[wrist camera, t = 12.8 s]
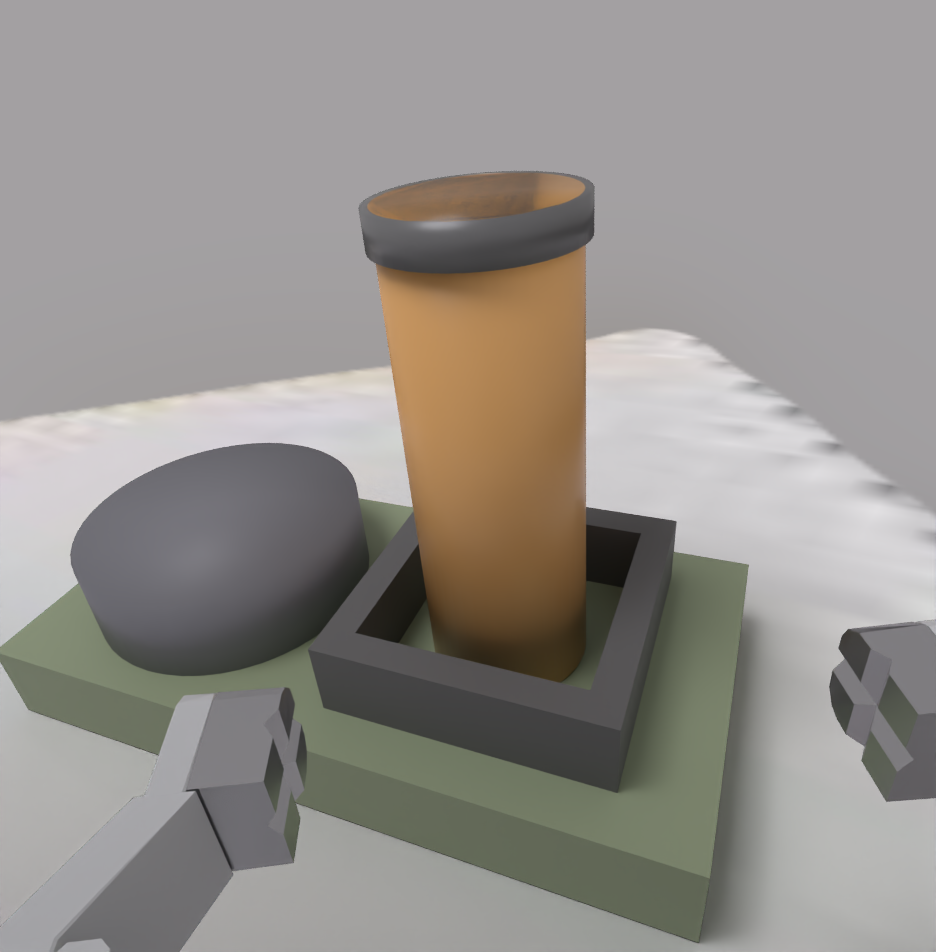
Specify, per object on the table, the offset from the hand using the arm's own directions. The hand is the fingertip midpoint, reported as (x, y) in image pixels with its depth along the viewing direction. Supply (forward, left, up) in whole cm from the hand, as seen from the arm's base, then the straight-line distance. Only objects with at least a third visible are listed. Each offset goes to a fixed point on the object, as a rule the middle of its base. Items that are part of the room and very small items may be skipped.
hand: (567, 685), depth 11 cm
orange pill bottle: (-5, +9, -9) cm, 14 cm away
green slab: (-9, +9, -12) cm, 18 cm away
